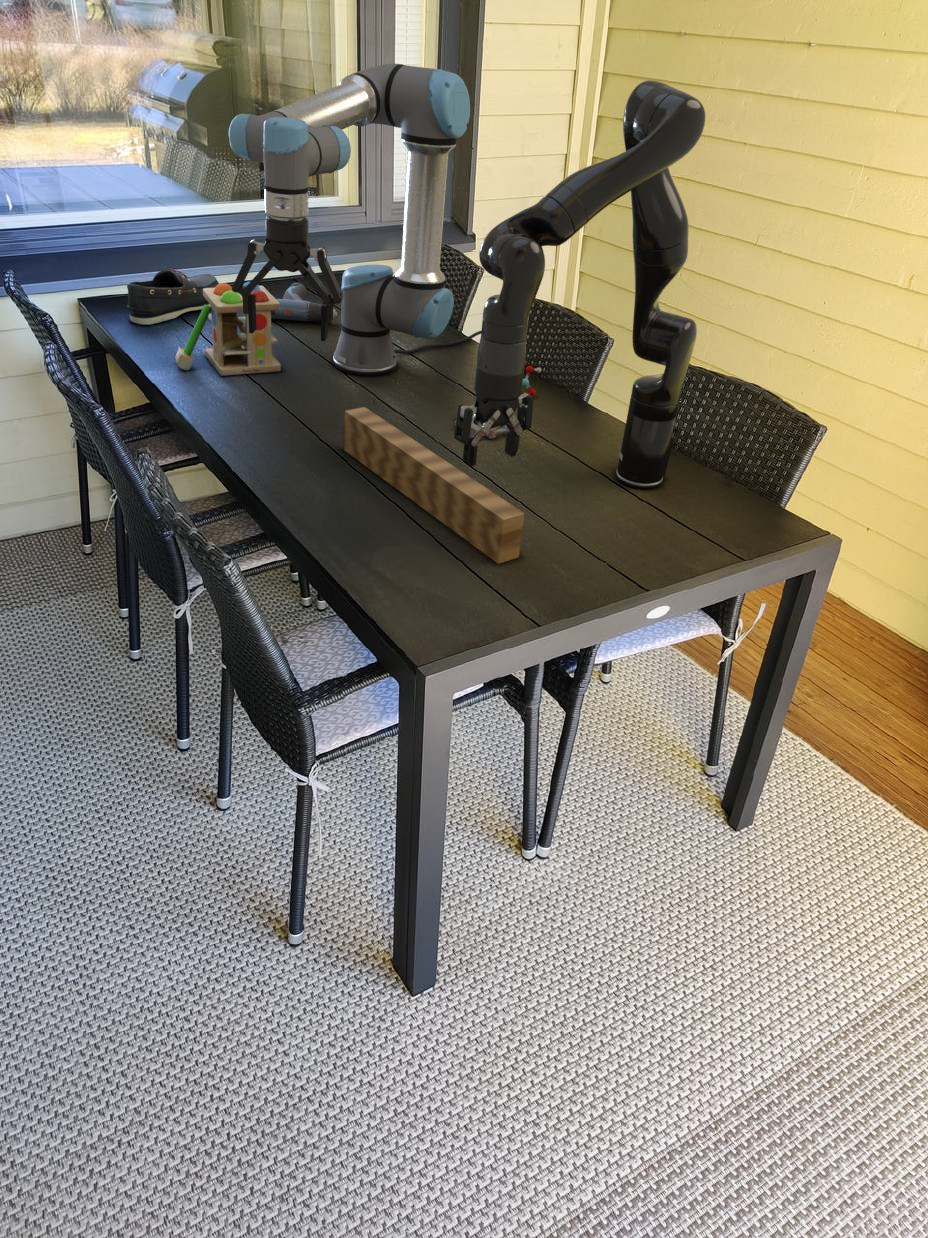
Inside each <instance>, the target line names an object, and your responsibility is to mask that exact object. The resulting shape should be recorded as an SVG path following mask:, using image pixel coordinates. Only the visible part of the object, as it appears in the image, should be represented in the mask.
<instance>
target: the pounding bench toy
mask: <svg viewBox="0 0 928 1238" xmlns="http://www.w3.org/2000/svg"><path fill="white" fill-rule="evenodd" d="M250 282H251V281H247V282H244V283H243V286H245V287H247V285H248V284H249V283H250ZM251 294H255V296H256V327H257V329H256V330H255V332H254V333H249V319H248V314H245V315H244V316H238V313H244V312H243V299H242V295H241V294H239V293H237V292H233V291H232V285H230V284H229V283H226V282H221V283H219V284H218V285H217V286H216V287H215V288H204V289H203V296H204V297H205V299H206V300H207V301H208V302H209V304H210V305H211V307H210V306H208V305H204V307H203V309H201V312H200V313H199V316H198V318H197V320H196V322H195V324H194V327H193V329H192V331H191V332H190V333H191V334H190V336H189V338H188V340H187V343H186V344H185V347H184V348H182V347H180V346H179V347H178V349H177V351H176V354H175V357H174V358H175V362H176V365H177V366H178V368H179V369H182V370H185V371H189V370H190V369H191V367H192V365H193V363H194V356H193V351H194V348H195V347H196V345H197V342H198V340H199V337H200V336H201V333H202V332H203V329H204V326H205V325H206V322H207V320H209V321H210V322H211V336H212V337H211V338H212V339H211V340H212V348H205V349H204V352H205V353H204V355H205V357H206V359H208V361H209V363H210V364H211V365H212V366H213V367H214V369H215V370H216V371H217V372H218V374H219V375H220V376H222V377H223V376H234V375H235V376H236V375H246V374H247V375H250V374H262V373H275V372H281V370H282V364H281V363H280V362H279V360H278V359H277V358H276V357H275V356H274V355H273V348H272V347H273V345H272V344H276V343H278V342H279V341H278V339H277V338H276V337H275V336H274V334H272V318H271V310H280V303H279V302H278V301H277V300H276V299H277V298H276V297H274V296H273V295H272V294H271V293H270V292H269V290H268V289H267V288H266V287H264V285H259V284H258V285H257V286H256V287H255V288H254V289H253V291H252V292H251ZM238 329H239V331H240V333H239V334H238Z"/></svg>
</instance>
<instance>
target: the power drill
mask: <svg viewBox="0 0 928 1238" xmlns="http://www.w3.org/2000/svg"><path fill="white" fill-rule="evenodd" d="M307 295H308V290H307V287H306V285H304V284H303V283H301V282H293V283H292V284H291V285H290V286H289V287H288V288H287V289H286V291H285V292H284V294H283V297H282V298H275V299H276V300H277V301H278V302H279V303H280V310H271V319H274V320H275V319H276V320H283V321H294V322H295V321H297V322H321V305H322V304H323V303H317V302H313V301H307V300H305V299H306V297H307ZM337 317H338V312H337V311H336V308H334V307H333V320H334V319H336V318H337Z"/></svg>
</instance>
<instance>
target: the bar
mask: <svg viewBox="0 0 928 1238" xmlns="http://www.w3.org/2000/svg"><path fill="white" fill-rule="evenodd" d="M343 441H344V447H343V449H344V452H346V453H347V454H348V455H350V456H351V457H352V458H354V459H355V460H357V461H358V462H359V463H361V464H362V465H363V466H364V467H365V468H367V469H369V470H370V471H372V472H373V473H374V474H375V475H377V476H378V477H379V478H381V479H382V480H383V481H385V482H386V483H388V484H389V485H390V486H392V487H393V488H395V489H396V490H397V491H399V492H400V493H401V494H403V495H404V496H406V497H407V498H408V499H410V501H412V502H413V503H415V504H416V505H417V506H419V507H420V508H421V509H423V510H424V511H426V512H427V513H428V514H430V515H431V516H432V517H434V518H435V519H437V520H438V521H439V522H440V523H442V524H443V525H445V526H446V527H448V528H449V529H450V530H452V531H453V532H454V533H456V534H457V536H460V537H461V538H462V539H464V540H465V541H466V542H468V543H469V544H470V545H472V546H473V547H475V548H476V550H478V551H480V552H481V553H482V554H484V555H485V556H487V557H488V558H489V559H491V560H492V561H493V562H495V563H496V564H497V565H499V564H503V563H505V562H508V561H512V560H515V559H518V558H519V557H520V551H521V544H522V537H523V536H522V535H523V529H524V521H525V513H524V512H523V511H521V510H520V509H519V508H517V507H515V506H514V505H513V504H512V503H510V502H508V501H507V500H505V499H504V498H502V497H500V496H499V495H498V494H496V493H495V492H493V491H491V490H490V489H489V488H487V487H486V486H484V485H483V484H481V483H479V482H478V481H477V480H475V479H474V478H472V477H470V476H469V475H468V474H466V473H465V472H463V471H462V470H461V469H459V468H457V467H455V466H454V465H452V464H451V463H450V462H448V461H446V460H445V459H444V458H442V457H441V456H439V455H437V454H436V453H435V452H433V451H432V450H430V449H429V448H428V447H426V446H424V445H423V444H421V443H419V442H418V441H417V440H415V439H414V438H412V437H410V436H409V435H407V434H406V433H404V432H403V431H401V430H400V429H399V428H397V427H395V426H394V425H393V424H391V423H390V422H388V421H387V420H385V419H384V418H382V417H380V416H379V415H377V414H376V413H375V412H373V411H371V410H370V409H369V408H367V407H365V406H363V407H357V408H352V409H347V410H344V440H343Z"/></svg>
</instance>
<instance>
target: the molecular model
mask: <svg viewBox="0 0 928 1238" xmlns="http://www.w3.org/2000/svg"><path fill="white" fill-rule="evenodd" d="M533 372H536V373H538V374H540V373H541V372H542V368H541V367H537V368H534V367H533V366H532V365H528V366H527V367H526V375H525V378H523V383H522V387H525V389H526V390H527V391H528V394H529V395H530V396H532V397H533V398H534V397H535V396H536V394H537V391H536V390H535V389H533V388H532V386H531V385H530V380H529V377H530V374H531V373H533Z"/></svg>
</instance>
